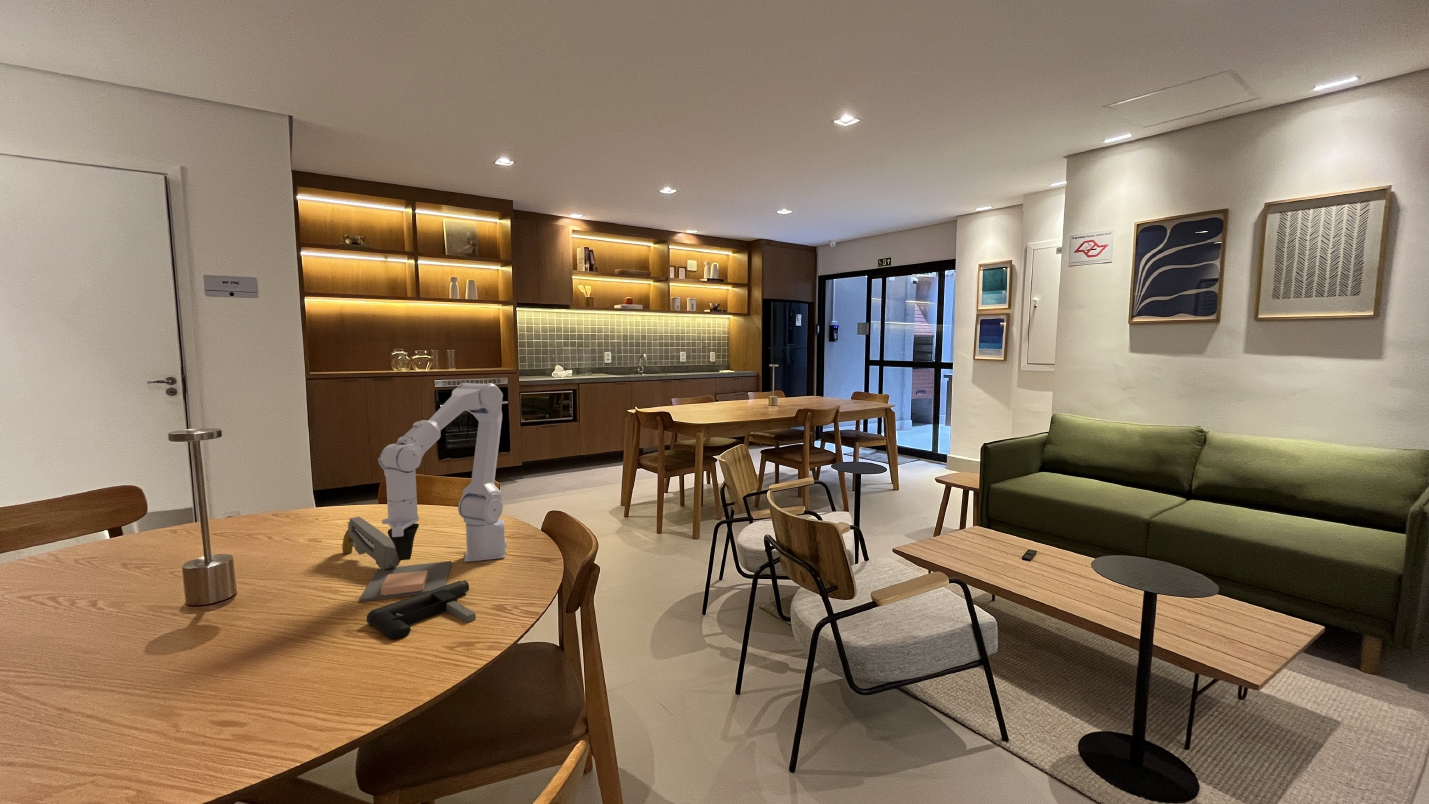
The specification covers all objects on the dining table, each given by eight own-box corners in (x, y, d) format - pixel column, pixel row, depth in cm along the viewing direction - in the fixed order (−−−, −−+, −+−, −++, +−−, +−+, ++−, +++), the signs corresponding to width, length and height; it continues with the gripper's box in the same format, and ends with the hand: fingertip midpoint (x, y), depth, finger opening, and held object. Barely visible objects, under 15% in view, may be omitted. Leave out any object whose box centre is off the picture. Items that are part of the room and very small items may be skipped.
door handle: (502, 598, 118) (459, 575, 128) (400, 637, 103) (360, 608, 112) (502, 614, 119) (459, 590, 128) (401, 655, 103) (361, 624, 113)
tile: (427, 570, 133) (422, 583, 125) (428, 577, 133) (423, 591, 126) (388, 574, 130) (380, 588, 123) (388, 582, 131) (381, 596, 123)
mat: (451, 563, 144) (451, 560, 144) (443, 591, 127) (443, 589, 127) (377, 571, 139) (377, 568, 139) (359, 602, 122) (359, 599, 122)
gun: (382, 604, 139) (392, 550, 135) (335, 550, 151) (343, 499, 147) (395, 600, 141) (405, 547, 137) (348, 546, 154) (356, 497, 150)
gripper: (388, 492, 133) (390, 550, 134) (374, 508, 119) (377, 573, 121) (422, 490, 135) (424, 547, 137) (412, 505, 122) (415, 568, 123)
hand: (405, 559), depth 129 cm, fingers closed
